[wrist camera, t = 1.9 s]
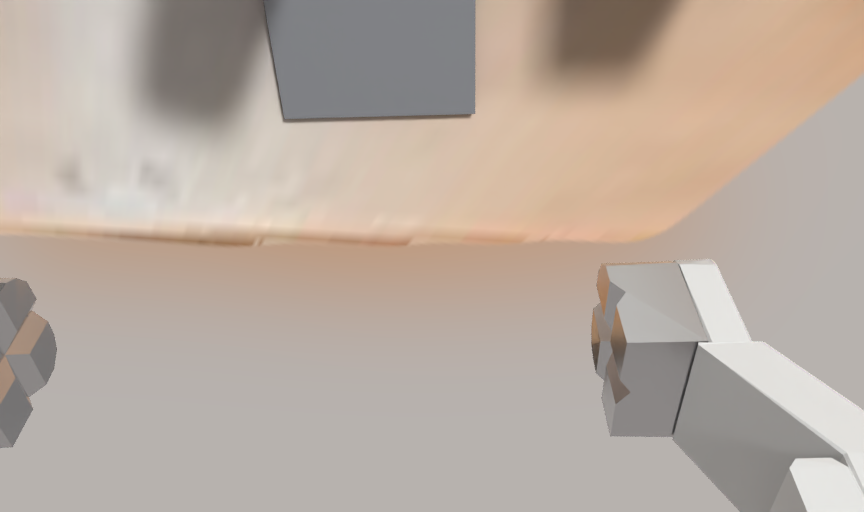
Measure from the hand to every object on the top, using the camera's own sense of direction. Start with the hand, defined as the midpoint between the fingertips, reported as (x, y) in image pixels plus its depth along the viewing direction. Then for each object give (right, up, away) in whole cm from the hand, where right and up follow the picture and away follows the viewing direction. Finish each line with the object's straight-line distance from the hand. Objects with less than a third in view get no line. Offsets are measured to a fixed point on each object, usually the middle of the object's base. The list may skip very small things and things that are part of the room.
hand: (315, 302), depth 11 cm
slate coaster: (-2, +13, +29) cm, 32 cm away
